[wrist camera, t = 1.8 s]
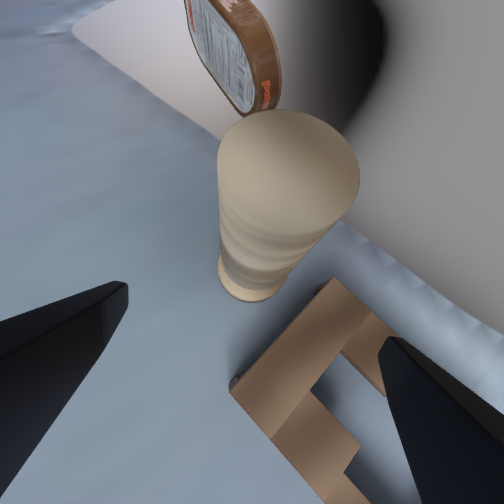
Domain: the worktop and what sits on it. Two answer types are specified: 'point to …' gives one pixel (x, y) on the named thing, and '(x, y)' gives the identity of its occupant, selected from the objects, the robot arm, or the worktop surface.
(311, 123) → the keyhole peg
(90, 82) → the worktop surface
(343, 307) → the brown rectangular frame
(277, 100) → the tin
